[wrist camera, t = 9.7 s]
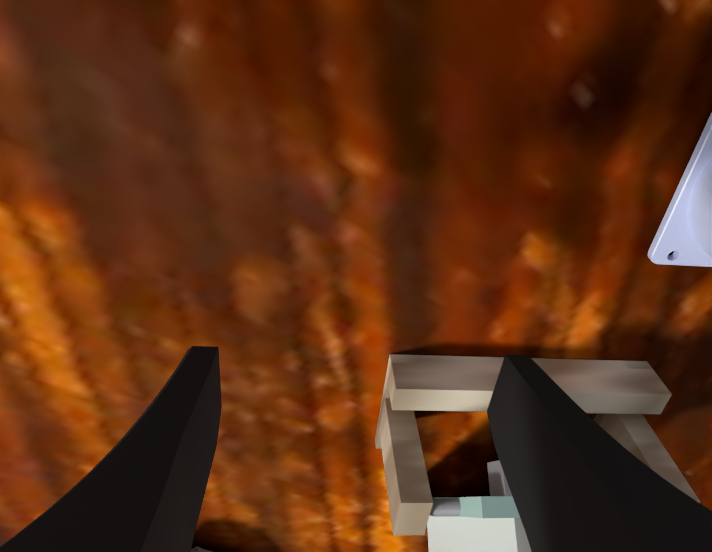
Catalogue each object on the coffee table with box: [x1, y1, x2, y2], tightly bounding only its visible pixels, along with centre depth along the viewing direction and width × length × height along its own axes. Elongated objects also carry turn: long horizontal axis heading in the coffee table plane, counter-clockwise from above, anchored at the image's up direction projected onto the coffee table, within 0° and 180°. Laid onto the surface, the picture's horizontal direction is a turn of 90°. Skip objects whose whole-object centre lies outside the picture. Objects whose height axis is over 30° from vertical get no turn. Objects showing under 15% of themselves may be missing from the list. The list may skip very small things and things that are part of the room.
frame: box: [375, 354, 700, 535], centre depth 27 cm, size 14×6×7 cm, turn 84°
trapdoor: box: [429, 460, 520, 518], centre depth 28 cm, size 11×14×2 cm
